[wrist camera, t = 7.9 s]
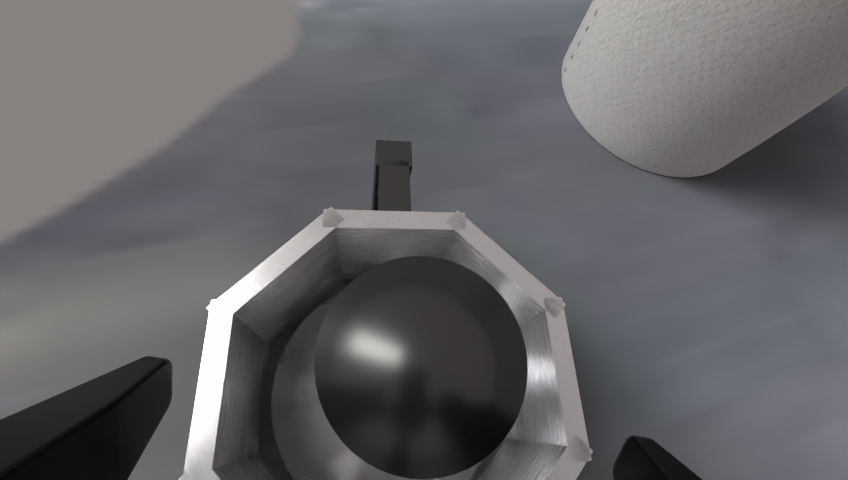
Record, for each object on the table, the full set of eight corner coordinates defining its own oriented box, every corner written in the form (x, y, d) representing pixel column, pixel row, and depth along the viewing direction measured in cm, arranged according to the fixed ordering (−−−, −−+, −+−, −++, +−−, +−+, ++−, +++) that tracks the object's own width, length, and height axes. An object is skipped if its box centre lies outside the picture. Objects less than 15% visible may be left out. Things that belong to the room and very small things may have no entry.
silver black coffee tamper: (405, 578, 13) (489, 854, 5) (223, 413, 14) (34, 403, 6) (530, 371, 16) (711, 321, 8) (374, 249, 17) (390, 92, 9)
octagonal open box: (528, 536, 15) (620, 598, 10) (230, 565, 13) (148, 659, 8) (489, 217, 20) (536, 144, 15) (269, 211, 18) (235, 128, 13)
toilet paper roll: (765, 93, 27) (1028, -117, 16) (709, 221, 22) (1032, 39, 11) (606, -2, 28) (754, -251, 18) (522, 99, 24) (655, -161, 13)
